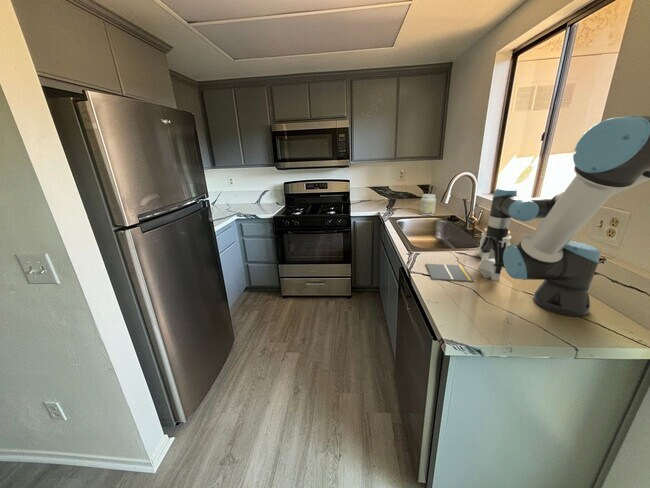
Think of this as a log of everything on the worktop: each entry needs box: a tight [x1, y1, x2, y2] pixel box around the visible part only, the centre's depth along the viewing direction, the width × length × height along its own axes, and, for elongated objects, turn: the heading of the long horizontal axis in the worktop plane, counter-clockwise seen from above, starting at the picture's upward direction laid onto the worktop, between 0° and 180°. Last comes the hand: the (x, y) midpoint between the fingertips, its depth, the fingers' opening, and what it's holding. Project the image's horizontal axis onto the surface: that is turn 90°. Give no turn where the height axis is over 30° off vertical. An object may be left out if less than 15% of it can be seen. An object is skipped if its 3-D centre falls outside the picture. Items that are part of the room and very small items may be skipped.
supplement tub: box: [419, 193, 437, 216], centre depth 226 cm, size 12×12×17 cm
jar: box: [477, 227, 513, 259], centre depth 135 cm, size 13×13×18 cm
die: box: [477, 259, 504, 279], centre depth 117 cm, size 8×9×10 cm
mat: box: [425, 263, 475, 283], centre depth 122 cm, size 16×17×1 cm
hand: (488, 272), depth 118 cm, fingers open, 13 cm apart
